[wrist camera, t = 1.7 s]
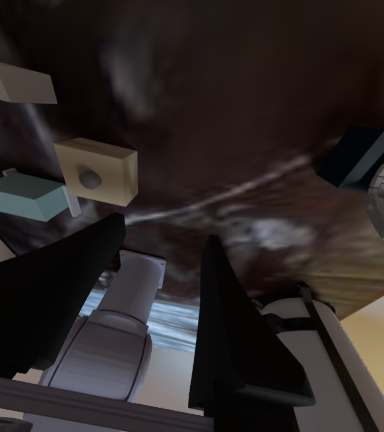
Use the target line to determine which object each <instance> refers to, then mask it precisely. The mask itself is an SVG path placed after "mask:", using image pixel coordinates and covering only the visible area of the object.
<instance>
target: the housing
mask: <svg viewBox="0 0 384 432" xmlns="http://www.w3.org/2000/svg"><path fill="white" fill-rule="evenodd" d="M53 146H54V149H55V152H56V155H57V158H58V161H59V164H60V167H61V170H62V173H63V176H64V179H65V182H66V185H67V188H68V191H69V194H71V195H76V196H80V197H85V198H89V199H94V200H98V201H103V202H107V203H111V204H116V205H120V206H125V207H126V206H127V205H128V204H129V202H130V201H131V200H132V199H133V198H134V197H135V196H136V194H137V193H138V169H137V151H135V150H131V149H127V148H122V147H118V146H114V145H110V144H105V143H101V142H97V141H93V140H89V139H84V138H76V139H71V140H66V141H62V142H57V143H53Z"/></svg>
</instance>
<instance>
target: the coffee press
mask: <svg viewBox="0 0 384 432" xmlns="http://www.w3.org/2000/svg"><path fill="white" fill-rule="evenodd" d="M296 290H297V295H296V298H286V299H281V300H277V301H274V302H272V303H269V304H268V305H264V304H262V303H261V302H259V301H258V300H257V299H252V300H251V301H252V302H254V303H256V304H257V305H258V306H260V307H261V308H263V309H262V311H261V315H262V317H263V318H264V320H265V321H266V322H267V324H268V325H269V326H270V327H271V329H272V330H273V331H274V333H275V334H276V335H277V336H278V338H279V339H280V340H281V341H282V342H283V344H284V345H285V346H286V347H287V348H288V349H289V350H290V352H291V353H292V354H293V355H294V356H295V357H296V359H297V360H298V361H299V362H300V363H301V364H302V365H303V367H304V370H305V372H306V374H307V377H308V380H309V382H310V385H311V388H312V391H313V394H314V397H315V400H316V403H315V405H313V406H304V407H293V411H294V415H295V418H296V419H295V421H292V424H293V428H294V432H384V396H383V394H382V392H381V391H380V389H379V387H378V386H377V384H376V382H375V381H374V379H373V377H372V376H371V374H370V372H369V371H368V369H367V367H366V366H365V364H364V362H363V361H362V359H361V357H360V356H359V354H358V353H357V351H356V349H355V347H354V346H353V344H352V342H351V341H350V339H349V337H348V336H347V334H346V332H345V331H344V329H343V328H342V326H341V324H340V322H339V321H338V319H337V317H336V316H335V309H334V307H332V306H331V305H329V304H326V305H325V304H323V303H321V302H319V301H316V300H312V297H311V292H310V288H309V286H308V285H307V284H297V285H296ZM256 309H257V308H256ZM259 313H260V312H259Z"/></svg>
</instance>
